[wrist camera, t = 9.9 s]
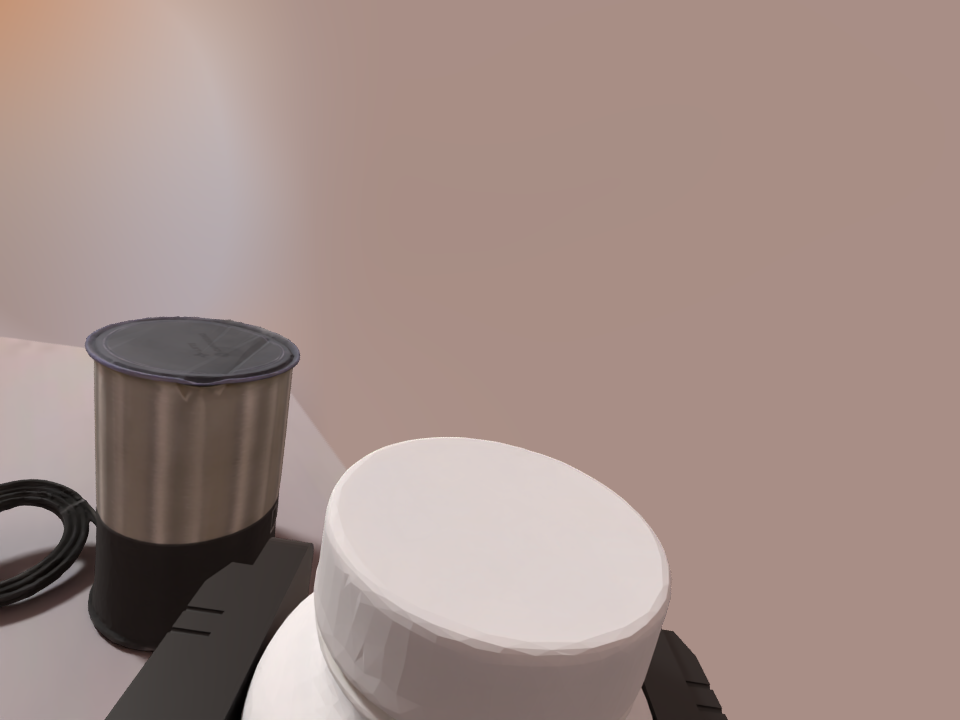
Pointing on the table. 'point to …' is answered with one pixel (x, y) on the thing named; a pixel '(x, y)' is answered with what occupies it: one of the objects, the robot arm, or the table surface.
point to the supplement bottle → (470, 595)
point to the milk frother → (169, 469)
